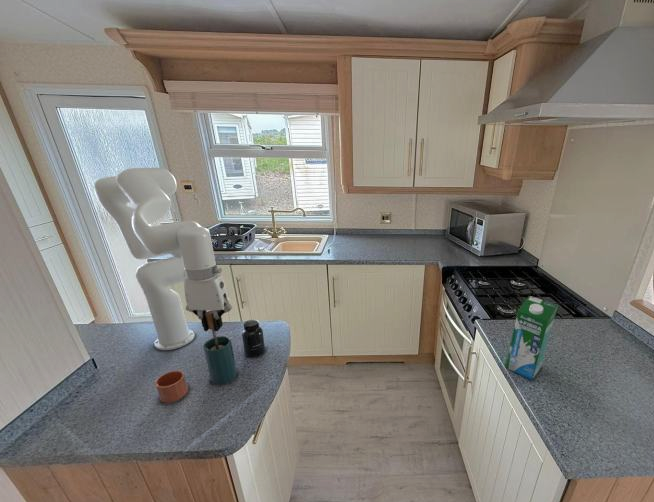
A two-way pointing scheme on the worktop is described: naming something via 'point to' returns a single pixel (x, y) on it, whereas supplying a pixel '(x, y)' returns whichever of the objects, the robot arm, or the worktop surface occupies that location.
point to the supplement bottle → (253, 338)
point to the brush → (211, 326)
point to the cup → (220, 360)
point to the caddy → (171, 386)
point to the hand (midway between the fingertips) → (213, 328)
